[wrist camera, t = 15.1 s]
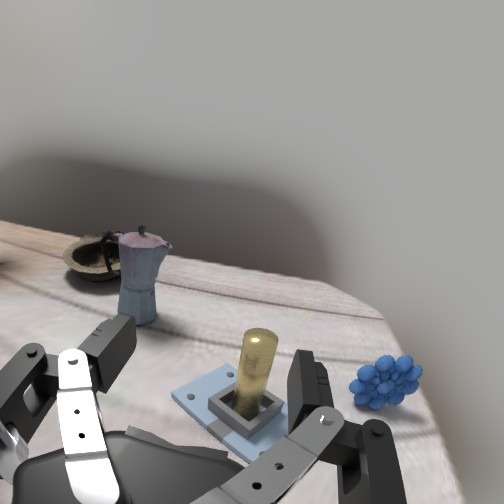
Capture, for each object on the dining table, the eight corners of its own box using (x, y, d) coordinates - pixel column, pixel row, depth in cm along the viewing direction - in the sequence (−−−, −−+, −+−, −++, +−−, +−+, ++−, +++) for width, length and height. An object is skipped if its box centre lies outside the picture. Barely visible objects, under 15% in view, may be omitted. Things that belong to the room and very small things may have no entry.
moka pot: (167, 330, 54) (171, 235, 47) (96, 322, 50) (90, 228, 44) (171, 307, 62) (176, 222, 56) (108, 300, 59) (106, 216, 53)
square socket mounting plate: (171, 396, 37) (170, 380, 36) (226, 367, 46) (228, 352, 45) (268, 477, 26) (274, 465, 25) (317, 427, 35) (324, 412, 34)
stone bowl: (140, 255, 88) (142, 228, 85) (149, 296, 68) (150, 264, 65) (70, 254, 77) (68, 227, 73) (58, 297, 57) (53, 264, 53)
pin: (225, 410, 35) (236, 335, 31) (243, 398, 38) (259, 324, 34) (245, 426, 33) (263, 352, 29) (263, 412, 36) (284, 339, 32)
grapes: (400, 397, 41) (428, 347, 38) (401, 422, 35) (435, 370, 32) (344, 384, 45) (368, 332, 41) (339, 409, 39) (367, 355, 35)
